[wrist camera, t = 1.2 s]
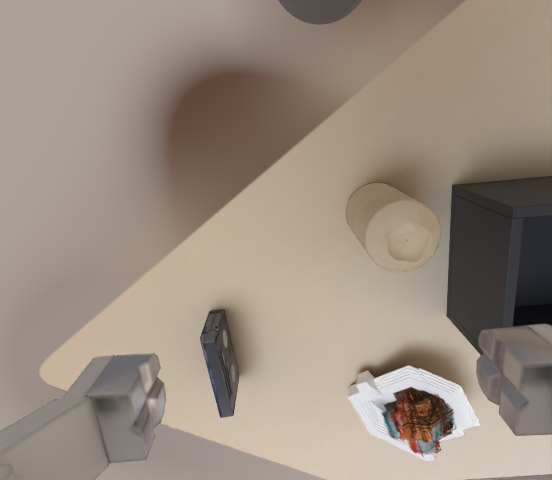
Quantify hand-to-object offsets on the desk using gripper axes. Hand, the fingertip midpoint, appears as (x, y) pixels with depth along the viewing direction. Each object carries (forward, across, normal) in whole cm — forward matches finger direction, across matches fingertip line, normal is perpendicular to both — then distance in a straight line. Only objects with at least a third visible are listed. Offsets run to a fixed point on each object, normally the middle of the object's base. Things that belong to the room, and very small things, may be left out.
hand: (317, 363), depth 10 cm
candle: (+27, -8, +3) cm, 28 cm away
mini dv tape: (+27, +8, +16) cm, 33 cm away
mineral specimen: (+27, -11, +24) cm, 38 cm away
